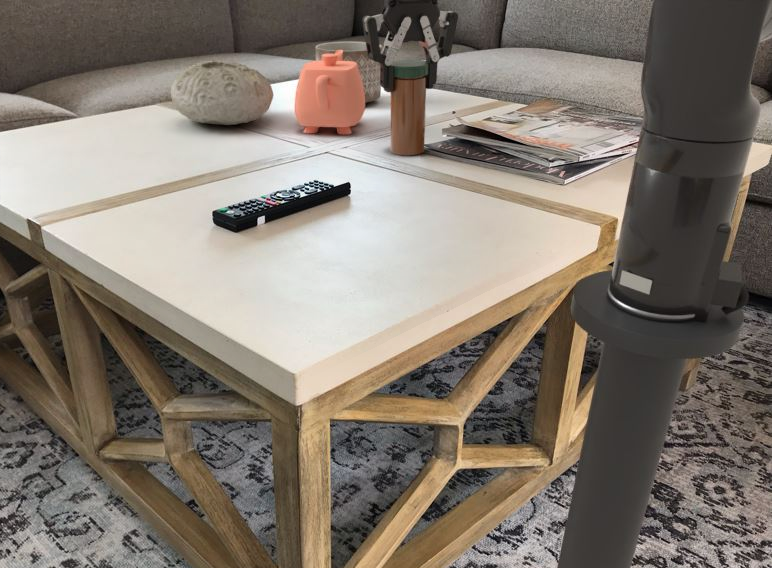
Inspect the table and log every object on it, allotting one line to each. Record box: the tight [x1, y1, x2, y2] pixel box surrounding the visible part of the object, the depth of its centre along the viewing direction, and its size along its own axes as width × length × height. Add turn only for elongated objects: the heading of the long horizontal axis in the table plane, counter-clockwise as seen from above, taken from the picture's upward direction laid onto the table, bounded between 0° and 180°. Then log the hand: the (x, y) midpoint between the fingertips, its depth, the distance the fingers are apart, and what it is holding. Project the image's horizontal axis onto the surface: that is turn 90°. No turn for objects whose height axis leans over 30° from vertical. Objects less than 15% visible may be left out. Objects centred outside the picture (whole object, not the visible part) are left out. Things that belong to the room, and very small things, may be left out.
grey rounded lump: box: [169, 59, 274, 126], centre depth 129 cm, size 18×18×10 cm
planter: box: [314, 41, 383, 104], centre depth 143 cm, size 13×13×10 cm
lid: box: [392, 59, 429, 78], centre depth 108 cm, size 6×6×2 cm
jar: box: [389, 75, 427, 156], centre depth 111 cm, size 5×5×12 cm
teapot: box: [294, 50, 366, 135], centre depth 125 cm, size 20×12×12 cm, turn 170°
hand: (408, 89), depth 109 cm, fingers closed on lid, 5 cm apart
